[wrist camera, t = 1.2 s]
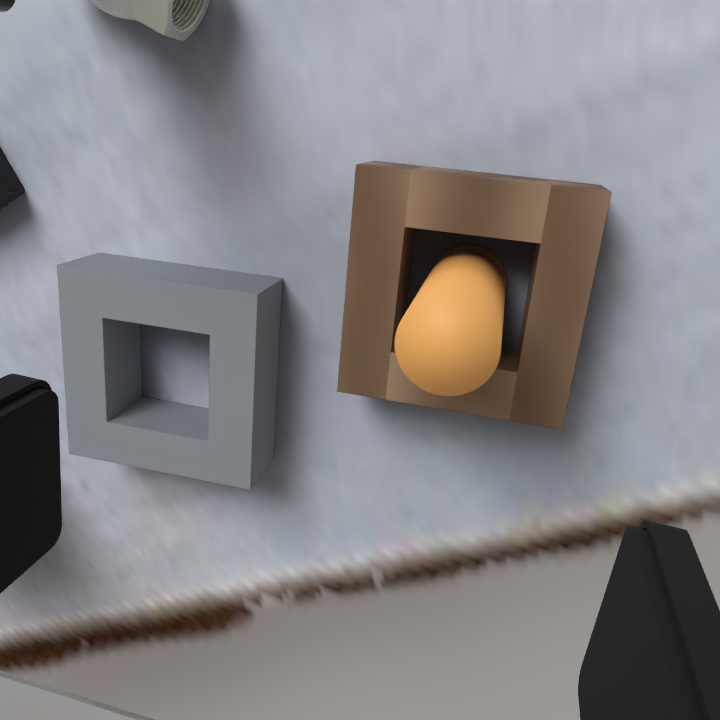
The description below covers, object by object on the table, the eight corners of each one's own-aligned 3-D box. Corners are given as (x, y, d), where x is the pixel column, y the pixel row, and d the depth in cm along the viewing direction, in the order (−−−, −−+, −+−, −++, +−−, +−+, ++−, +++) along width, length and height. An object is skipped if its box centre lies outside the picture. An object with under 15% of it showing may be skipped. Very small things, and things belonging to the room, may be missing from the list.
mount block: (601, 185, 29) (611, 192, 26) (557, 399, 32) (561, 429, 29) (373, 160, 31) (356, 164, 27) (354, 366, 34) (337, 391, 31)
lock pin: (511, 250, 31) (509, 302, 21) (499, 324, 32) (492, 404, 23) (435, 241, 31) (400, 287, 22) (425, 313, 32) (389, 387, 23)
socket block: (282, 278, 33) (257, 294, 30) (273, 458, 37) (249, 489, 34) (99, 252, 35) (56, 265, 32) (106, 426, 39) (69, 453, 35)
